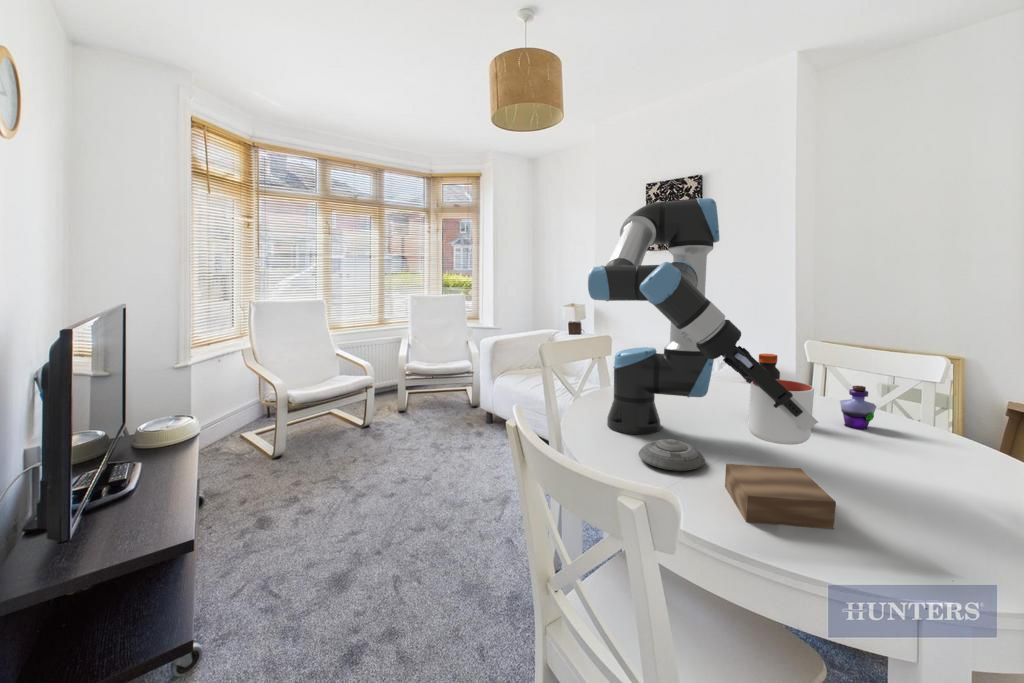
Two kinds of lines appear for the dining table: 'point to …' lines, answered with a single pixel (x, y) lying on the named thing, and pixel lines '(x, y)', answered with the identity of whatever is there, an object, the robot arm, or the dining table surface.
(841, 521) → the dining table surface
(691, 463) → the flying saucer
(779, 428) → the cup
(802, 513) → the walnut block
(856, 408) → the potion bottle
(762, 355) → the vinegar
